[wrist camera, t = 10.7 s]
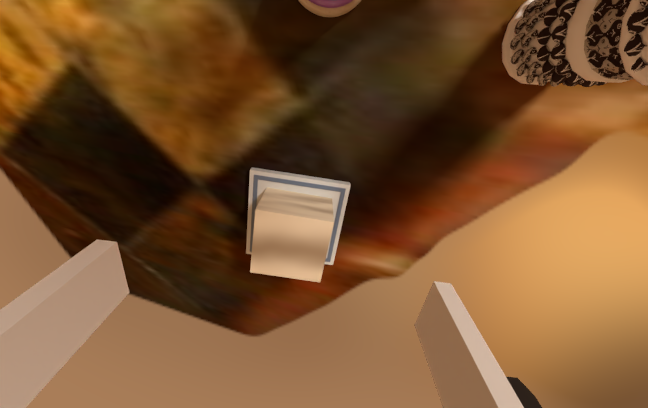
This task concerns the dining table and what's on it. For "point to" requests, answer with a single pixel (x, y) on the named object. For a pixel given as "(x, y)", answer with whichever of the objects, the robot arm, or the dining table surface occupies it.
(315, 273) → the birch block
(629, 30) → the decorative candle
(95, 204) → the dining table surface
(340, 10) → the stacking toy
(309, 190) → the board
